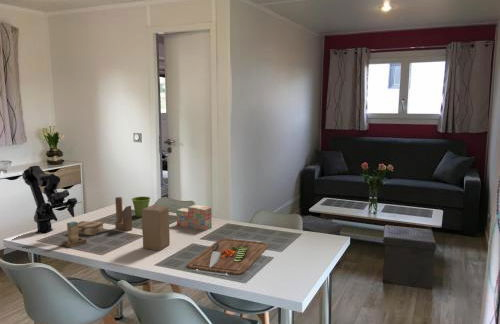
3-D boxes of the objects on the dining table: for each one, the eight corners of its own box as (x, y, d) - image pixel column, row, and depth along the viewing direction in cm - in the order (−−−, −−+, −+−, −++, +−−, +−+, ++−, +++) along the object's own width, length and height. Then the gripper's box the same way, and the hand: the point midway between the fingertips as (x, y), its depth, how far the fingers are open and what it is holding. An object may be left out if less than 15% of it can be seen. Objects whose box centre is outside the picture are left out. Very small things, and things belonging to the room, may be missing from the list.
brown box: (71, 234, 229) (70, 226, 228) (82, 228, 239) (81, 221, 238) (93, 235, 226) (93, 227, 226) (104, 230, 236) (103, 222, 236)
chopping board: (240, 279, 170) (240, 271, 169) (181, 270, 179) (181, 264, 178) (271, 244, 212) (271, 238, 211) (222, 239, 221) (222, 233, 220)
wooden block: (170, 244, 211) (169, 206, 208) (160, 251, 201) (158, 210, 199) (153, 242, 214) (151, 204, 211) (142, 249, 205) (140, 209, 202)
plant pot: (128, 217, 262) (128, 200, 260) (137, 213, 274) (136, 196, 272) (146, 218, 260) (146, 200, 258) (154, 213, 272) (153, 196, 270)
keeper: (61, 244, 212) (61, 240, 212) (77, 240, 219) (77, 236, 219) (70, 247, 207) (70, 243, 207) (86, 243, 214) (86, 239, 214)
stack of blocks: (176, 225, 245) (175, 204, 244) (183, 222, 251) (183, 202, 249) (205, 230, 234) (204, 209, 232) (212, 228, 239) (211, 207, 238)
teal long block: (68, 243, 213) (66, 223, 211) (74, 242, 216) (73, 221, 214) (72, 245, 211) (70, 224, 209) (78, 243, 214) (77, 222, 212)
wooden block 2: (127, 231, 233) (125, 200, 231) (115, 228, 240) (113, 197, 237) (132, 229, 236) (131, 198, 234) (120, 226, 243) (119, 196, 240)
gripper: (39, 188, 209) (52, 213, 204) (74, 182, 224) (87, 205, 219) (33, 202, 214) (45, 226, 209) (67, 195, 229) (80, 218, 224)
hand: (65, 218), depth 215 cm, fingers open, 9 cm apart
